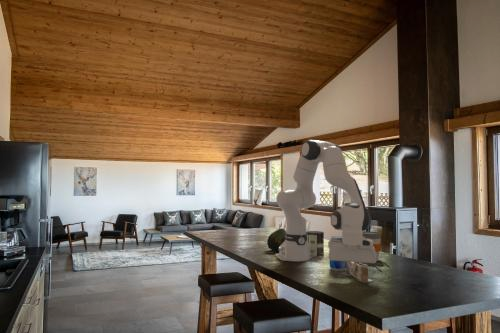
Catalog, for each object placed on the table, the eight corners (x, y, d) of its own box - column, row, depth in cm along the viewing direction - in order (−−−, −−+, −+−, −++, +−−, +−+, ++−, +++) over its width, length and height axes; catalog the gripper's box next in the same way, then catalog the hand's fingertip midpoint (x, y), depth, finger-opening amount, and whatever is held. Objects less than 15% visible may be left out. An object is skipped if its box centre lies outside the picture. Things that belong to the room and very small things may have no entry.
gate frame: (339, 273, 179) (339, 258, 179) (350, 272, 181) (350, 257, 181) (363, 282, 162) (363, 266, 162) (375, 281, 164) (375, 265, 165)
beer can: (334, 272, 182) (334, 238, 183) (326, 268, 190) (326, 236, 191) (350, 271, 184) (350, 237, 185) (341, 267, 192) (341, 235, 193)
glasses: (358, 263, 204) (358, 254, 204) (390, 267, 194) (389, 257, 195) (348, 268, 192) (348, 258, 193) (382, 272, 183) (382, 262, 183)
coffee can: (322, 254, 228) (322, 231, 228) (325, 258, 217) (325, 233, 218) (305, 254, 228) (305, 230, 229) (307, 257, 218) (307, 233, 218)
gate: (345, 272, 179) (345, 258, 179) (350, 272, 179) (350, 258, 179) (363, 283, 159) (362, 267, 159) (368, 283, 159) (368, 267, 160)
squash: (260, 243, 234) (276, 225, 232) (266, 241, 249) (281, 224, 247) (276, 260, 230) (293, 242, 228) (282, 256, 245) (297, 239, 243)
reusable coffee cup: (377, 262, 205) (376, 234, 206) (354, 259, 213) (354, 232, 213) (384, 259, 215) (384, 232, 216) (363, 256, 223) (362, 230, 223)
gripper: (327, 239, 168) (327, 271, 167) (376, 242, 162) (376, 275, 161) (329, 237, 174) (328, 268, 173) (376, 240, 168) (376, 272, 167)
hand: (352, 271), depth 167 cm, fingers closed
